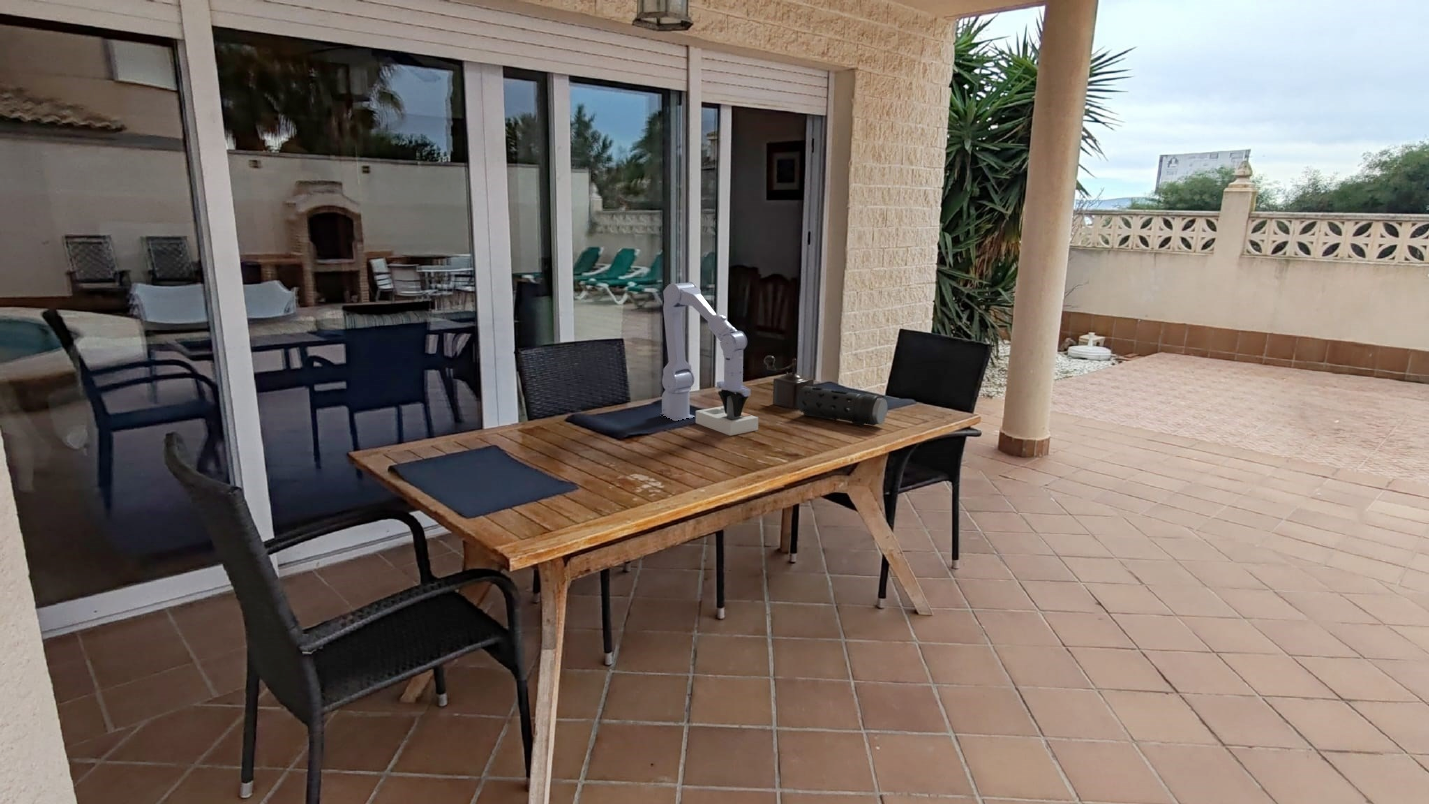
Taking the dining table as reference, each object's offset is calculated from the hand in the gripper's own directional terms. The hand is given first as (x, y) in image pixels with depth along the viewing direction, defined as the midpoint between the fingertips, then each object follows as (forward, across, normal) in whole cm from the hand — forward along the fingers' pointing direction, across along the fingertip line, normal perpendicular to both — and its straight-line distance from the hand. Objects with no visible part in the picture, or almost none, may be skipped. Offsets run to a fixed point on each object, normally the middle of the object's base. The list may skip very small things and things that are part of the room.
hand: (732, 414), depth 236 cm
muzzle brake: (+5, +12, +35) cm, 38 cm away
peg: (+2, 0, 0) cm, 2 cm away
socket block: (+5, -4, +1) cm, 7 cm away
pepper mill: (+5, -14, +35) cm, 38 cm away
